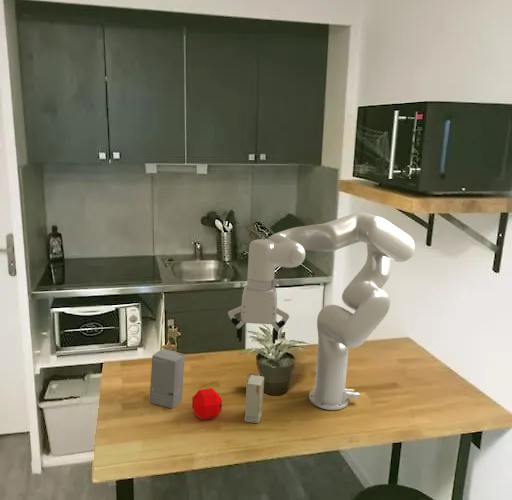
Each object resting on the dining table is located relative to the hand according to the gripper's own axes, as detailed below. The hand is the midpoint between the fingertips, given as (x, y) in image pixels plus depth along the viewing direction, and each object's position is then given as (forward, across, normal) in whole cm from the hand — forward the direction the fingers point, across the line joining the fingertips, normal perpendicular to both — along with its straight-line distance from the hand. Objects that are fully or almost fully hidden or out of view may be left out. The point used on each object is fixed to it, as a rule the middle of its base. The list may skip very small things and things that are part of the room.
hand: (256, 340), depth 151 cm
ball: (+25, +14, 0) cm, 28 cm away
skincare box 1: (+25, +27, -7) cm, 37 cm away
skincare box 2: (+25, 0, 0) cm, 25 cm away
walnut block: (+25, 0, -16) cm, 29 cm away
